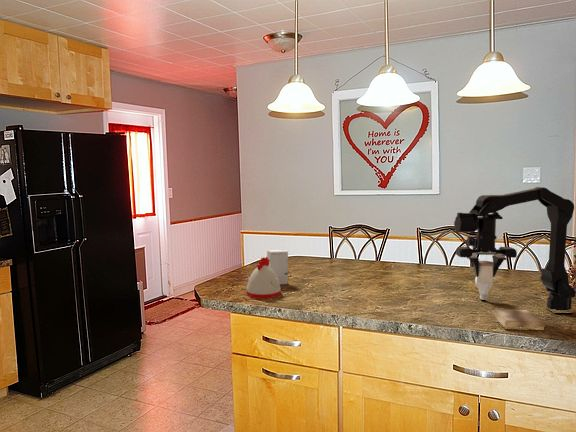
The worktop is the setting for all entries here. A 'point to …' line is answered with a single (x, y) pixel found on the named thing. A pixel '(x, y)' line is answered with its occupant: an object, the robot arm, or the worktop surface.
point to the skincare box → (279, 264)
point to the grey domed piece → (263, 281)
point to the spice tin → (485, 272)
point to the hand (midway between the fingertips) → (485, 276)
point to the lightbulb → (483, 289)
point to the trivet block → (517, 318)
